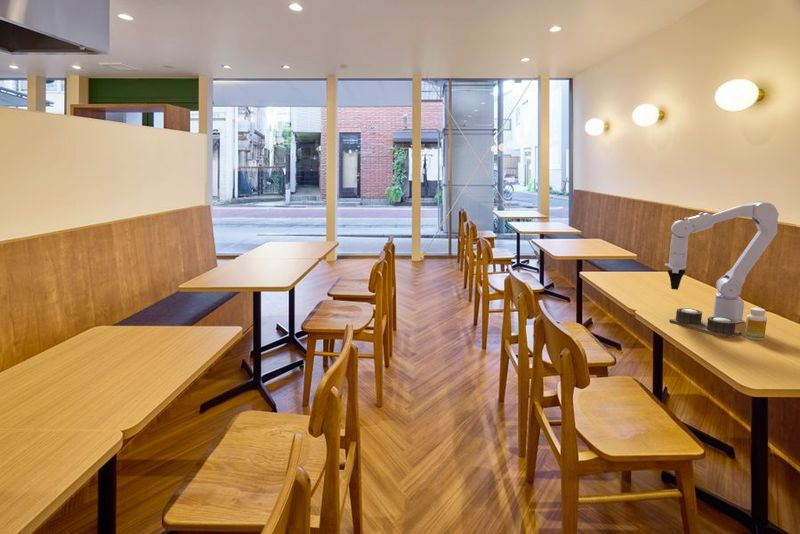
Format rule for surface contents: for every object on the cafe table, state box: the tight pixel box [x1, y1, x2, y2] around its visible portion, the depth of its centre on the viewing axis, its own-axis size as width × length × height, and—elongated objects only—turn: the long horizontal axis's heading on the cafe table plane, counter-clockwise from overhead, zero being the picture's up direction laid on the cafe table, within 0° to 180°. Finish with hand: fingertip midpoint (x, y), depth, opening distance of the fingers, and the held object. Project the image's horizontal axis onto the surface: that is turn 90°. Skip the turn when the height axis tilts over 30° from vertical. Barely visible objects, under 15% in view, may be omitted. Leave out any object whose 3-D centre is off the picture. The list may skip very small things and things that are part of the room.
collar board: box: [669, 307, 742, 339], centre depth 177 cm, size 9×20×4 cm, turn 23°
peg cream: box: [681, 308, 697, 313], centre depth 182 cm, size 5×5×4 cm
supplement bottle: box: [744, 307, 768, 341], centre depth 165 cm, size 5×5×10 cm
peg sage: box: [713, 318, 731, 322], centre depth 171 cm, size 5×5×4 cm
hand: (674, 289), depth 190 cm, fingers closed
